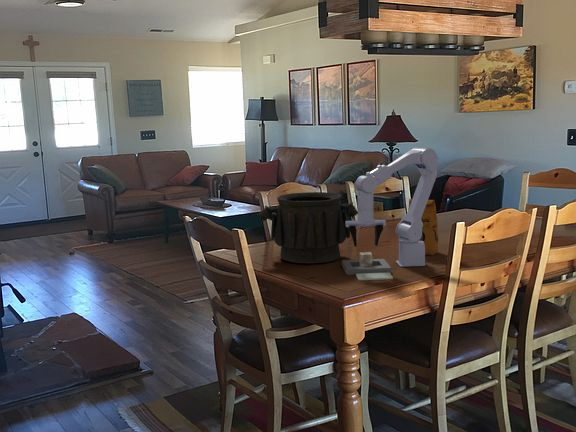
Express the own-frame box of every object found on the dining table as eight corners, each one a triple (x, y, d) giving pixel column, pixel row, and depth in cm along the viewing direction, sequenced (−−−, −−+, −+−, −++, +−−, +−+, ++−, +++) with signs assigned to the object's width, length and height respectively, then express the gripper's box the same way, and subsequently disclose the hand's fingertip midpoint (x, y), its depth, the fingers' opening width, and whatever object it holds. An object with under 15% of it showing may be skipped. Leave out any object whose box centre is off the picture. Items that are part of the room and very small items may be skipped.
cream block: (370, 267, 237) (370, 252, 236) (372, 270, 233) (372, 254, 232) (359, 268, 237) (359, 252, 236) (361, 270, 233) (361, 254, 232)
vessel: (255, 258, 256) (252, 197, 252) (313, 246, 276) (312, 188, 272) (305, 272, 233) (303, 204, 229) (365, 257, 253) (365, 195, 249)
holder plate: (383, 263, 242) (383, 258, 242) (391, 273, 228) (391, 267, 228) (341, 265, 241) (341, 260, 241) (346, 274, 228) (346, 269, 227)
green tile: (389, 274, 227) (389, 272, 227) (393, 279, 220) (393, 277, 220) (355, 275, 227) (355, 273, 227) (358, 280, 220) (358, 278, 220)
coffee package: (432, 257, 251) (433, 201, 247) (403, 253, 258) (403, 199, 254) (441, 252, 259) (442, 198, 255) (413, 248, 266) (413, 196, 262)
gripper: (347, 211, 227) (347, 248, 229) (387, 210, 227) (387, 247, 230) (344, 208, 234) (344, 244, 236) (383, 207, 234) (383, 243, 237)
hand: (365, 245), depth 233 cm, fingers open, 7 cm apart
